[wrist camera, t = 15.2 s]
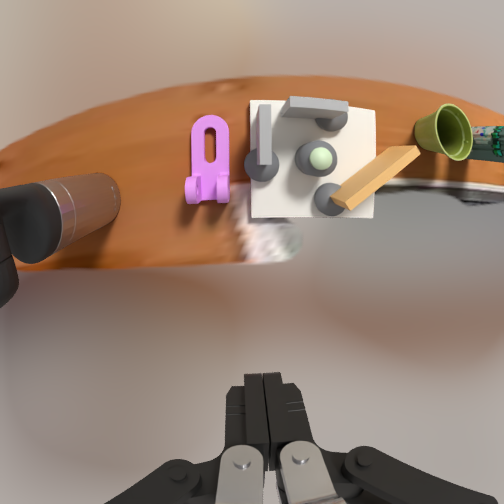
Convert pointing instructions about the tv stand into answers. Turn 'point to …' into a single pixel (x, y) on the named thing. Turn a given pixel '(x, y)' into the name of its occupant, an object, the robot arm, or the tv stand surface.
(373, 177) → the tan upright panel
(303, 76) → the tv stand surface
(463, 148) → the plant pot
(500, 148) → the can
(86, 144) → the tv stand surface
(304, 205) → the plate
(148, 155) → the tv stand surface
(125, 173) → the tv stand surface
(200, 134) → the bracket
